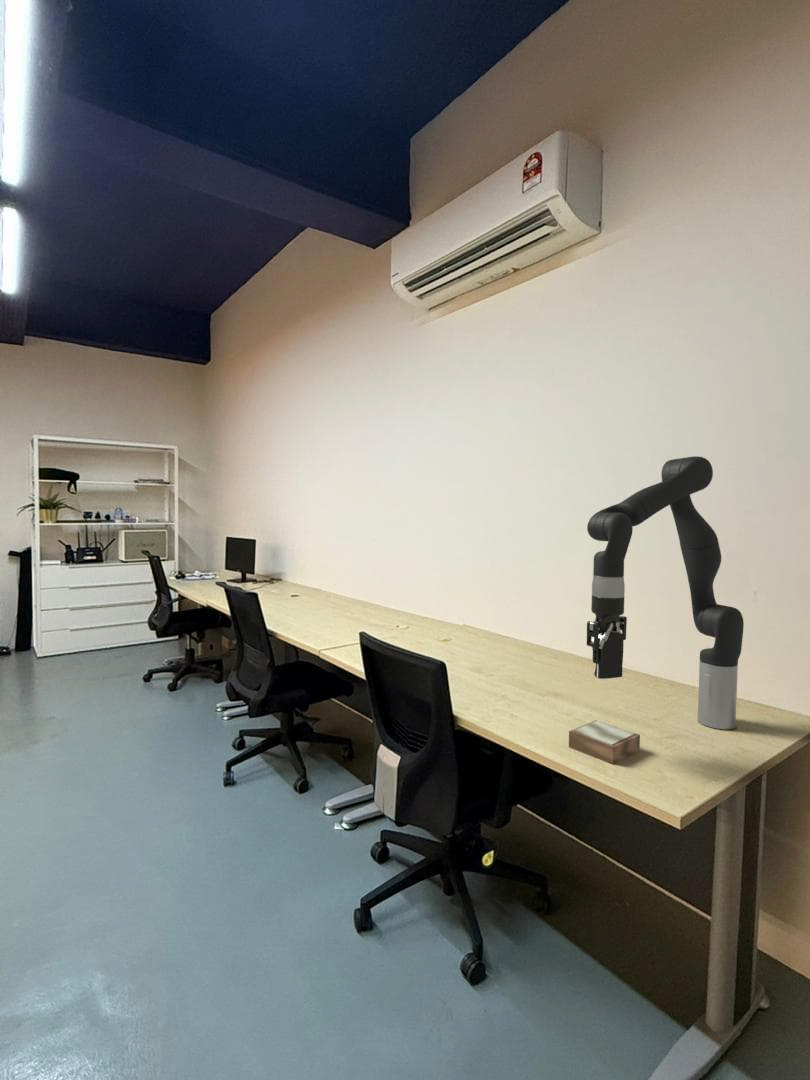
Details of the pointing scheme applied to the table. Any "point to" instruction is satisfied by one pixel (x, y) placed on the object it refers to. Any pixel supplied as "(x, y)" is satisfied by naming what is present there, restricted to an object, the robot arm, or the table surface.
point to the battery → (611, 657)
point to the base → (604, 741)
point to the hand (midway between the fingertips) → (606, 660)
